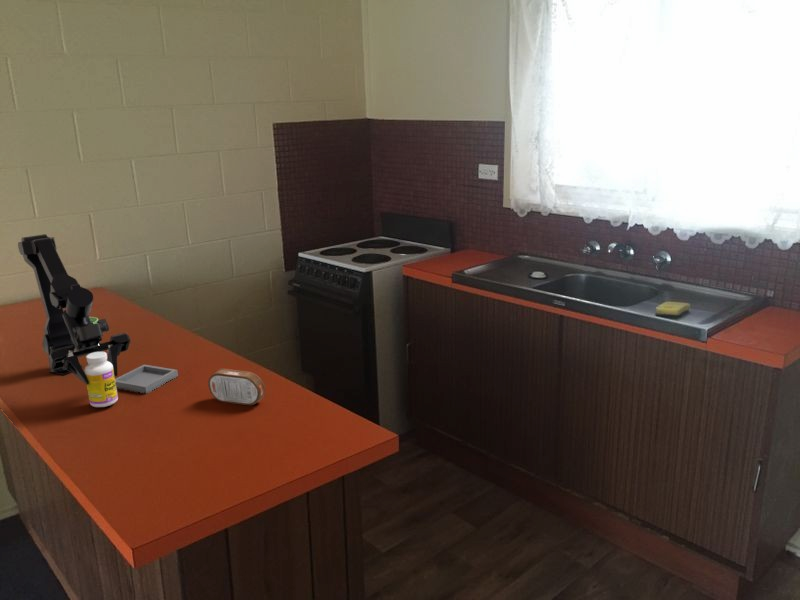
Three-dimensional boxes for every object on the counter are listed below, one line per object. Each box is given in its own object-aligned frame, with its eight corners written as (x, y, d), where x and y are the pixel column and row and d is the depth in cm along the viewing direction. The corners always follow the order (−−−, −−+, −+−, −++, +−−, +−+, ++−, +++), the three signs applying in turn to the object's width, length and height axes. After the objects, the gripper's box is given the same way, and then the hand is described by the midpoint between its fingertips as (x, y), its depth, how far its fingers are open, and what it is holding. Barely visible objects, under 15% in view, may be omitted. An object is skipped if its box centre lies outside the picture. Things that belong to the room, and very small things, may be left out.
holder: (112, 387, 182) (111, 380, 181) (145, 371, 192) (143, 364, 192) (146, 394, 177) (145, 387, 176) (178, 376, 187) (177, 369, 187)
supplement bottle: (108, 409, 167) (99, 360, 163) (84, 407, 169) (75, 359, 165) (124, 397, 174) (116, 350, 170) (100, 395, 175) (92, 349, 171)
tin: (267, 403, 169) (264, 371, 167) (260, 408, 166) (257, 376, 164) (215, 396, 174) (211, 366, 172) (208, 401, 171) (204, 371, 169)
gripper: (42, 319, 161) (65, 376, 156) (122, 302, 173) (145, 354, 168) (40, 342, 169) (61, 396, 165) (115, 324, 181) (137, 374, 176)
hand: (102, 379), depth 168 cm, fingers closed on supplement bottle, 7 cm apart
